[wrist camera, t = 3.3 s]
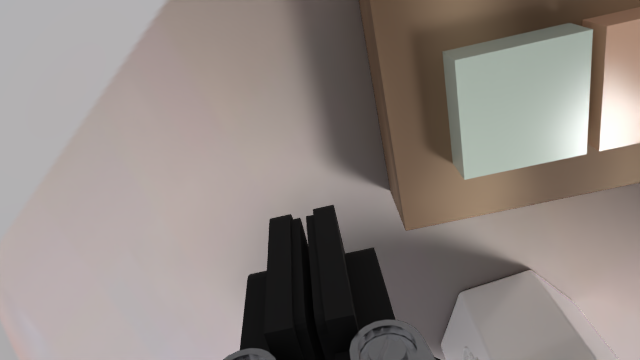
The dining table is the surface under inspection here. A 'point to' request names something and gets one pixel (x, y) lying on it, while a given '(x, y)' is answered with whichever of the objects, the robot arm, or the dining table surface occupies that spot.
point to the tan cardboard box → (432, 112)
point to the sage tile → (519, 99)
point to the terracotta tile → (614, 80)
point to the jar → (521, 324)
